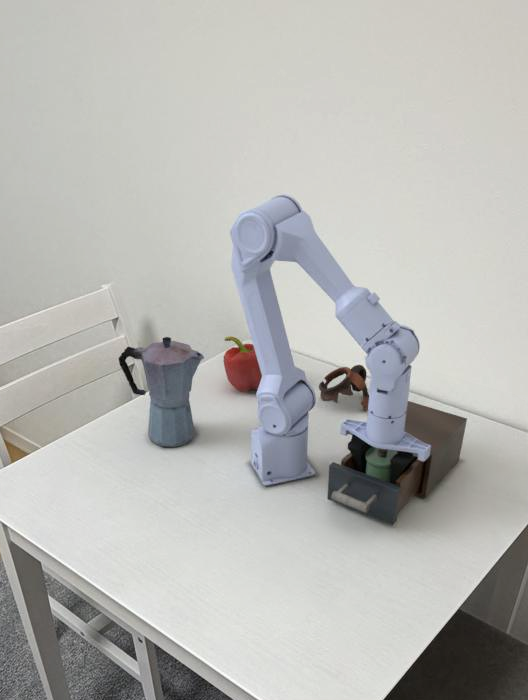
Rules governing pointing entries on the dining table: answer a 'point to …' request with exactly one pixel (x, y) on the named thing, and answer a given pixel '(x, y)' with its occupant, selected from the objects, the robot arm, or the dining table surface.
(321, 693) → the dining table surface
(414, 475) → the drawer
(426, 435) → the cabinet
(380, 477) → the pot
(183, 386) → the moka pot
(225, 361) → the vegetable
